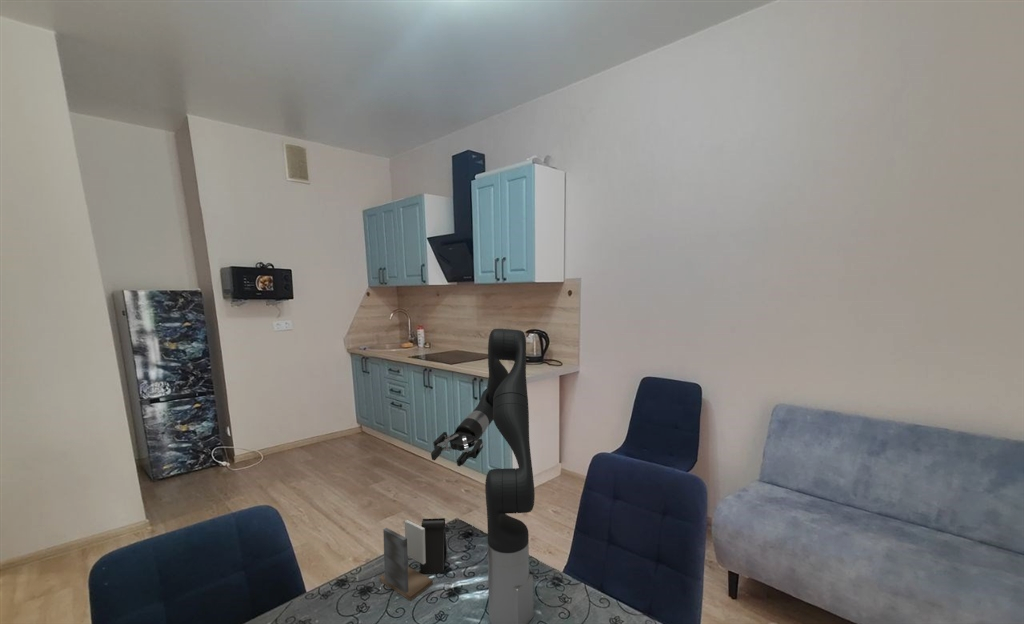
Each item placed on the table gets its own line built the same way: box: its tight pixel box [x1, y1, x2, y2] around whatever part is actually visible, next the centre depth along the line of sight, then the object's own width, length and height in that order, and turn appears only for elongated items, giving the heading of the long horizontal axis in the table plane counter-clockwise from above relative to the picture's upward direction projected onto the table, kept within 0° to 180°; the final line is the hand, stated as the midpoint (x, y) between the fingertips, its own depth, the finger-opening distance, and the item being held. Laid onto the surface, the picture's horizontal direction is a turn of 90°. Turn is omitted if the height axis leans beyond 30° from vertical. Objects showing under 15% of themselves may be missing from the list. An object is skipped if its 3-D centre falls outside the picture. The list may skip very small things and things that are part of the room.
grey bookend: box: [379, 527, 434, 602], centre depth 102 cm, size 12×7×14 cm, turn 54°
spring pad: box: [404, 519, 426, 564], centre depth 105 cm, size 9×1×12 cm, turn 53°
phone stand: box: [419, 517, 448, 575], centre depth 110 cm, size 9×6×12 cm, turn 1°
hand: (445, 460), depth 114 cm, fingers open, 8 cm apart
